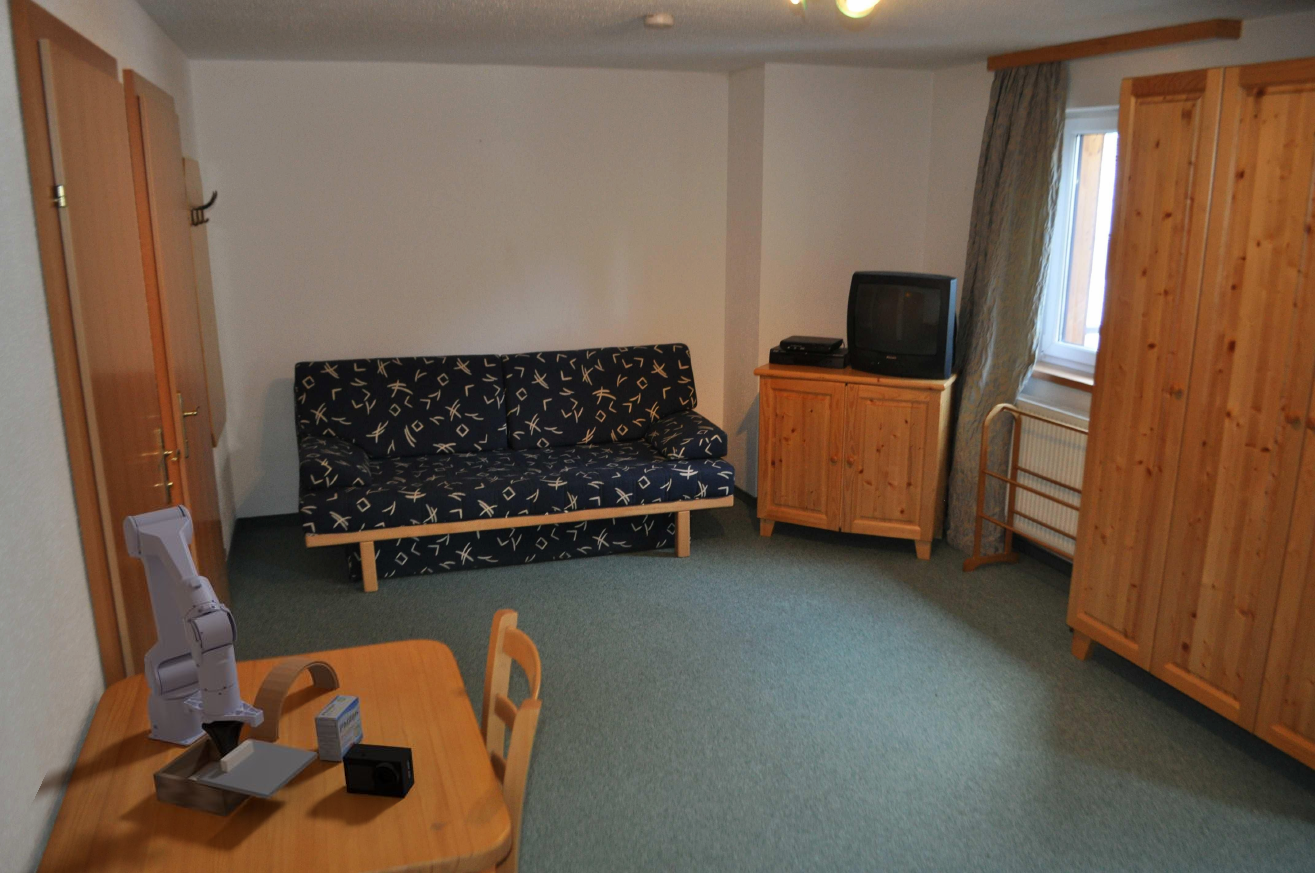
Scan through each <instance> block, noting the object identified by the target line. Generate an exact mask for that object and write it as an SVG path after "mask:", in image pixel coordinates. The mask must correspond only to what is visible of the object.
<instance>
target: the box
mask: <svg viewBox="0 0 1315 873" xmlns="http://www.w3.org/2000/svg"><path fill="white" fill-rule="evenodd" d="M242 743H243V742H241V741H238V746H239V745H241V744H242ZM221 759H222V757H221V755H220V753H219V751H218V749H217V747H216V745H215V743H214V742H213V740H212V739H211V737H210V736H209V735H208V734H206V736H205V737H202V739H200V740H199V741H198V742H195V744H194V745H193V744H192V746H190V747H189V748H188V749H186V750H185V751H184V752H182V753H180V754H179V755H178V756H176V757H175V758H174V759H172V760H171V761H169V762H168V763H167V764H165V765H164V766H162V767H161V768H160V769H159V770H157V771H156V772H154V773H153V774H152V776H153V781H154V788H155V789H154V790H155V793H156V800H157V802H162V803H164V804H165V803H166V804H170V805H174V806H178V807H182V808H187V809H190V810H194V811H198V812H202V813H203V812H204V813H207V814H212V815H215V816H219V817H223V818H227V817H228V816H229V815H230V814H232V813H233V812H234V811H235V810H236V809H237V808H239V807H240V806H241V805H242V804H244V802H246V801H247V800H248V799H249V798H250V797H252V795H248V794H243V793H239V792H235V791H230V790H226V789H222V788H217V787H213V786H208V785H204V784H200V783H197V779H196V778H198V777H199V776H200V775H202V774H203V773H204V772H206V771H207V770H208V769H210V768H211V767H212V766H214V765H215V764H216V763H217V762H219V761H220V760H221Z"/></svg>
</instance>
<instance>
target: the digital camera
mask: <svg viewBox="0 0 1315 873" xmlns="http://www.w3.org/2000/svg"><path fill="white" fill-rule="evenodd" d="M412 750H413V749H412V747H405V746H404V747H403V746H394V745H380V744H370V743H369V744H367V743H358V744H357V743H354V744H353V745H352V746H351V747H350V749H349V750H348V751H347V752H346V754H345V755H344V756H343V761H342V763H343V765H342V766H343V771H344V772H343V773H344V780H345V790H346V793H347V794H352V795H353V794H354V795H362V796H364V795H365V796H374V797H384V798H385V797H386V798H398V799H405V798H406V797H407V796H408V794H409V793H410V791H411V789H412V788H413V787H414V785H415V783H416V781H415V773H414V772H415V771H414V761H413V751H412Z"/></svg>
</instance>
